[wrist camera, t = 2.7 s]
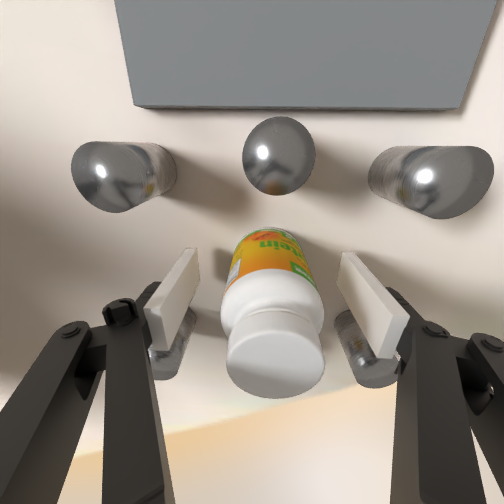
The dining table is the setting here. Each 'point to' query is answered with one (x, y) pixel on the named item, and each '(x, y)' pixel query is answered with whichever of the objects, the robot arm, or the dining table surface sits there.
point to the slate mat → (302, 53)
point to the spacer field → (283, 182)
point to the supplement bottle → (272, 317)
